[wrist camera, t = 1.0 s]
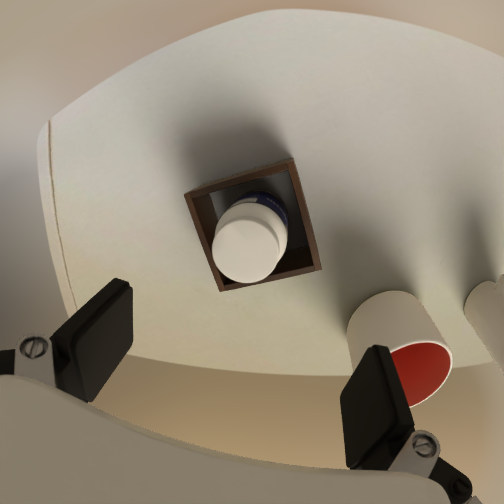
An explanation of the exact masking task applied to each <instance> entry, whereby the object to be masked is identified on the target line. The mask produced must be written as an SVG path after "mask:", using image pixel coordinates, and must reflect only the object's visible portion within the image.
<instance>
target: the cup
mask: <svg viewBox="0 0 504 504" xmlns="http://www.w3.org/2000/svg"><path fill="white" fill-rule="evenodd" d="M347 342H348V347H349V352H350V357H351V362H352V367H353V372H354V371H355V369H356V367H357V366H358V364H359V362H360V360H361V359H362V357H363V355H364V353H365V351H366V350H367V348H368V347H372V346H373V345H374V344H376V345H382V346H387V347H388V348H389V351H390V353H391V356H392V359H393V361H394V364H395V367H396V369H397V372H398V375H399V378H400V381H401V384H402V387H403V390H404V393H405V396H406V399H407V402H408V405H409V408H410V407H413V406H415V405H417V404H419V403H421V402H423V401H425V400H426V399H427V398H429V397H430V396H432V395H433V394H434V393H435V392H436V391H437V390H438V389H439V388H440V387H441V386H442V385H443V383H444V382H445V381H446V379H447V377H448V376H449V374H450V371H451V368H452V363H453V357H452V353H451V350H450V348H449V347H448V345H447V343H446V342H445V340H444V338H443V337H442V335H441V333H440V332H439V330H438V329H437V327H436V325H435V324H434V322H433V321H432V319H431V317H430V316H429V314H428V313H427V311H426V310H425V308H424V306H423V305H422V303H421V302H420V301H419V300H418V299H417V298H416V297H415V296H413V295H411V294H409V293H407V292H403V291H386V292H382V293H379V294H376V295H374V296H372V297H370V298H369V299H367V300H366V301H365V302H363V303H362V304H361V305H360V306H359V307H358V308H357V309H356V311H355V312H354V313H353V315H352V317H351V319H350V321H349V324H348V327H347Z"/></svg>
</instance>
